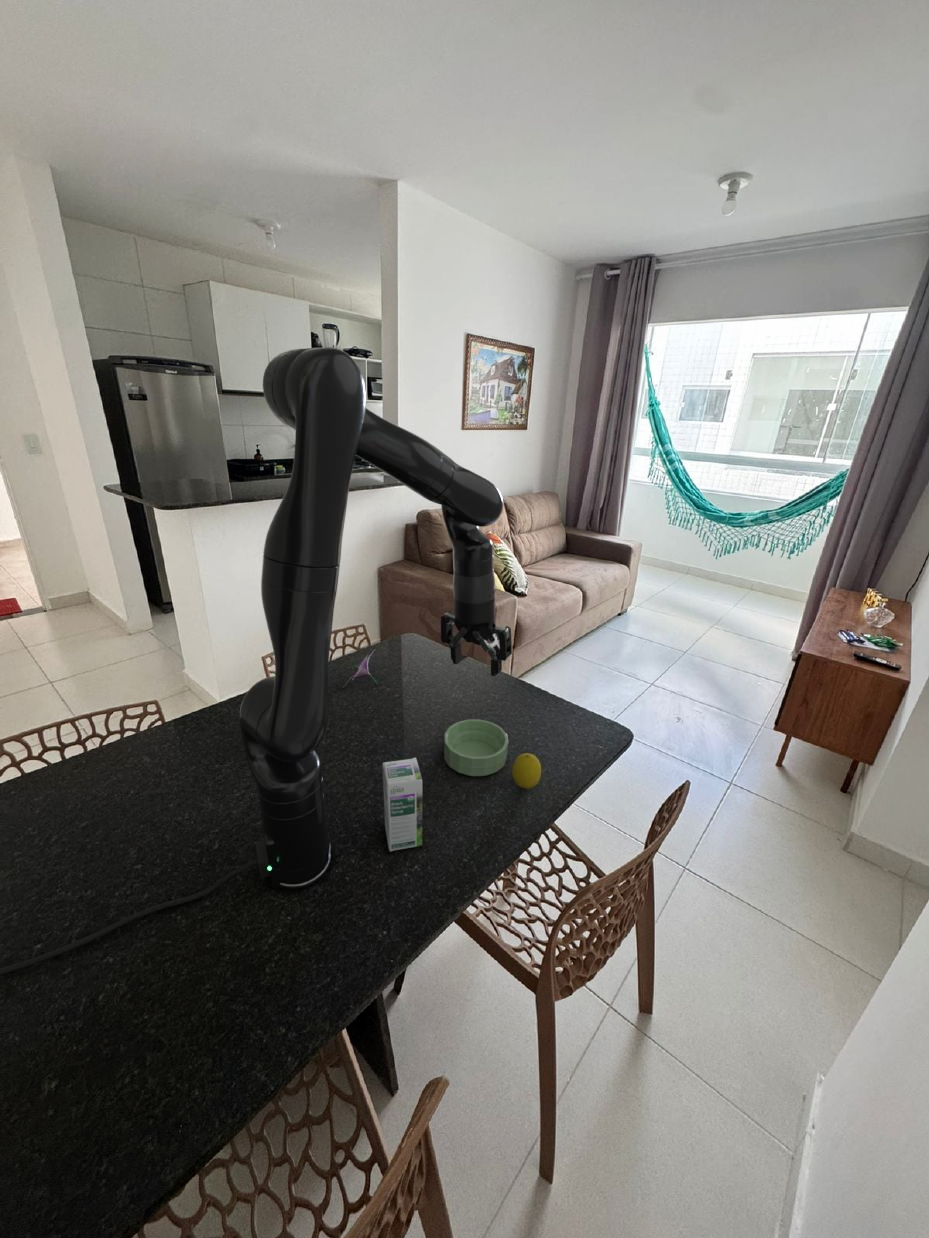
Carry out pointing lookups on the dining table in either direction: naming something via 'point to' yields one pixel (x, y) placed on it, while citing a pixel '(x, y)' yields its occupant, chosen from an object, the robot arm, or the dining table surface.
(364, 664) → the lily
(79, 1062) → the dining table surface
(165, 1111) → the dining table surface
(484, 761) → the bowl
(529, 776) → the lemon
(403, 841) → the syrup box
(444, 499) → the robot arm
